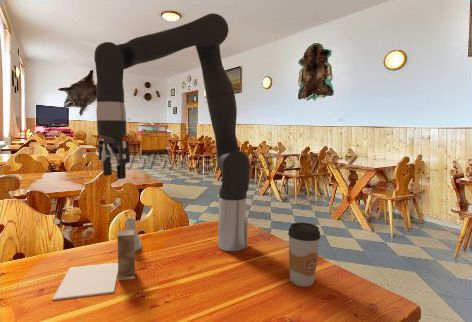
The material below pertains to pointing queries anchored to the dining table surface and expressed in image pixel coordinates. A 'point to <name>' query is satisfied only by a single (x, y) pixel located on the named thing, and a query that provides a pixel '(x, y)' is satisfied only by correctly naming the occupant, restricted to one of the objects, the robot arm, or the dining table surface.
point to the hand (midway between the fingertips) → (114, 176)
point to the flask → (131, 226)
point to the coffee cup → (303, 253)
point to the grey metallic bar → (126, 254)
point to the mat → (88, 281)
